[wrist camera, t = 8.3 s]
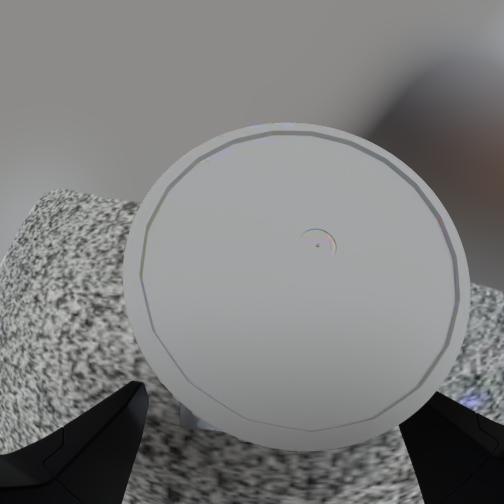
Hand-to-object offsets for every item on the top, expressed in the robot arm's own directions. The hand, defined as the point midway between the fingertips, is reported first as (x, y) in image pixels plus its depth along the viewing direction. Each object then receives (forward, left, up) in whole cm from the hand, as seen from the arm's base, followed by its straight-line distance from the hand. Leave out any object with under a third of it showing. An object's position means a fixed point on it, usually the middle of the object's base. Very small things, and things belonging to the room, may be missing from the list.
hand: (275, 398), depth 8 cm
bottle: (+1, +2, -9) cm, 10 cm away
